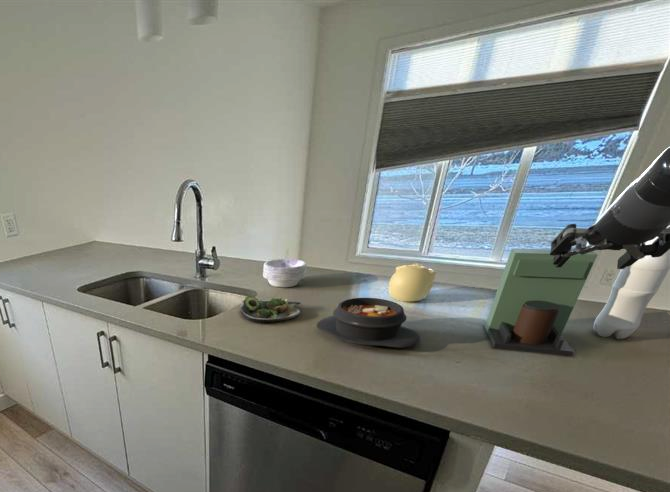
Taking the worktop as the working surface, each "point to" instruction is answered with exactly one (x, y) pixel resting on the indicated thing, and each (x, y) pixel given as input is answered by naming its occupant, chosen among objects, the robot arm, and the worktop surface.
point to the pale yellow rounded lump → (411, 282)
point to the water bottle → (632, 295)
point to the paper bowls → (284, 272)
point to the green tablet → (536, 296)
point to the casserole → (370, 323)
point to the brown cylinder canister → (535, 322)
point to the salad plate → (268, 310)
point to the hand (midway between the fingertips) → (588, 263)
